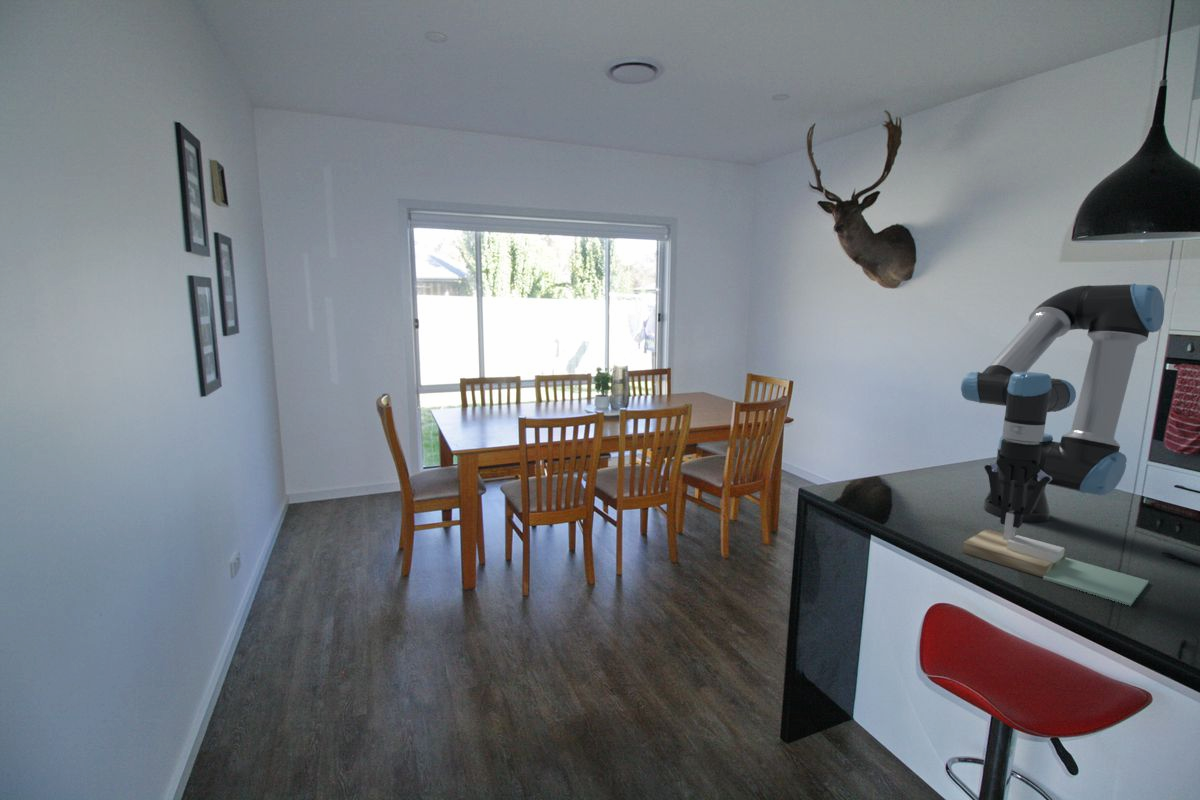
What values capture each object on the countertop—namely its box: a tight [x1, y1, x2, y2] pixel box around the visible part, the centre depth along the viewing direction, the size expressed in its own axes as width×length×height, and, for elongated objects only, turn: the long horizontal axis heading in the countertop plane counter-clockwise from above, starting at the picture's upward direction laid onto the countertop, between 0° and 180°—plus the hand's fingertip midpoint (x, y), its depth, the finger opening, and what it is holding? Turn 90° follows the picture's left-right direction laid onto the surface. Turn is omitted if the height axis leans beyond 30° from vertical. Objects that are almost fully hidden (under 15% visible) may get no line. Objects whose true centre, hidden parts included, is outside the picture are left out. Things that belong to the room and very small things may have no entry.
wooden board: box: [961, 528, 1067, 578], centre depth 132 cm, size 14×16×2 cm
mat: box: [1042, 557, 1149, 607], centre depth 121 cm, size 16×14×1 cm
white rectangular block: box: [1007, 534, 1065, 563], centre depth 129 cm, size 9×6×2 cm, turn 37°
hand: (1008, 538), depth 133 cm, fingers closed
